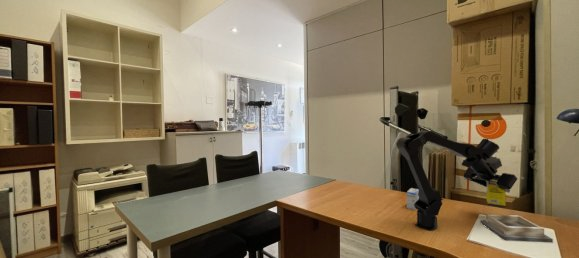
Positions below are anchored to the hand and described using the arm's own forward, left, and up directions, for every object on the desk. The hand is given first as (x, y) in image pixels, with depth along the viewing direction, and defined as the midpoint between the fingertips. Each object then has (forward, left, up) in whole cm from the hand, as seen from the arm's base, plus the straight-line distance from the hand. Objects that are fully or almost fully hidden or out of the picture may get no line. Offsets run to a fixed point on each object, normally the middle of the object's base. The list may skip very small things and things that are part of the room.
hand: (498, 189), depth 106 cm
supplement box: (-1, -1, -7) cm, 7 cm away
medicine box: (-31, -12, -13) cm, 36 cm away
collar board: (+7, -11, -13) cm, 18 cm away
